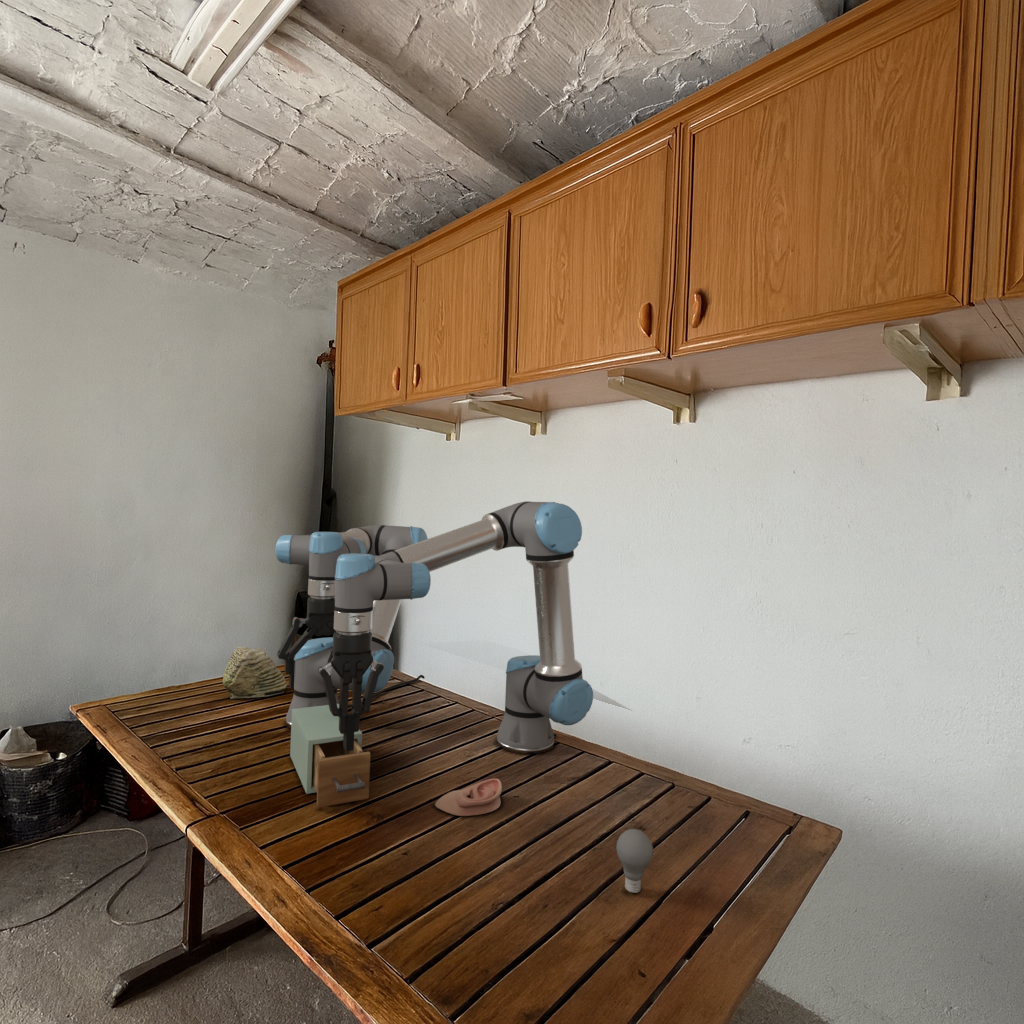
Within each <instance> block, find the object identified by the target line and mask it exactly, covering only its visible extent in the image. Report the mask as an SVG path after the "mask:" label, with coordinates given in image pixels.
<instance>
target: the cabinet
mask: <svg viewBox="0 0 1024 1024" xmlns="http://www.w3.org/2000/svg"><path fill="white" fill-rule="evenodd" d="M337 707H338V708H339V704H337ZM354 739H355V740H356V742H357V743H358V745H359V746H360V748H361V749H362V750H363V732H362V731H361V729H359V731H358V732H354ZM342 740H343V734H341V733H340V731H339V717H338V716H333V715H332V713H331V712H330V709H329V705H324V706H315V707H306V708H297V709H292V720H291V729H290V747H289V748H290V749H289V751H290V753H289V757H290V759H291V761H292V763H293V766H294V768H295V771H296V773H297V776H298V777H299V780H300V783H301V785H302V787H303V789H304V792H305V793H306V794H305V795H309V794H315V793H317V792H316V790H315V788H314V786H313V783H312V755H313V744H320V743H328V742H335V741H342Z"/></svg>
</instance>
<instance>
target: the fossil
mask: <svg viewBox="0 0 1024 1024" xmlns="http://www.w3.org/2000/svg"><path fill="white" fill-rule="evenodd" d="M222 676H223V677H222V685H223V687H224V688H225V690H226V691H228V693H229V698H230V699H250V698H264V697H271V696H275V695H281V694H284V693H285V691H286V689H287V687H288V686H287V680H286V678H285V676H284V674H283V673H282V672H281V669H279V668H278V667H277V665H276V663H275V662H274V660H273V659H272V658H271V657H270V656H269V655H268V654H267V653H266V652H265V650H264V649H263V648H260V647H258V648H251V647H247V646H246V647H245V646H238V647H237V648H236V649H235V650H233V651H232V653H231V656H230V657H229V659H228V660H227V663H226V666H225V668H224V671H223V675H222Z"/></svg>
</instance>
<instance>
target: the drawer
mask: <svg viewBox="0 0 1024 1024" xmlns="http://www.w3.org/2000/svg"><path fill="white" fill-rule="evenodd" d="M370 775H371V752H370V751H363V748H362V749H361V748H360V746H359V745H358V743H357V742H356V740H355V739H354V750H351V751H346V750H345V749H344V747H343V740H342V741H335V742H328V743H320V744H313V755H312V783H313V786H314V788H315V790H316V792H315V793H316V808H324V807H330V806H335V805H339V804H346V803H351V802H352V803H353V802H356V801H357V802H358V801H363V800H367V799H369V798H370V777H371V776H370Z"/></svg>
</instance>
